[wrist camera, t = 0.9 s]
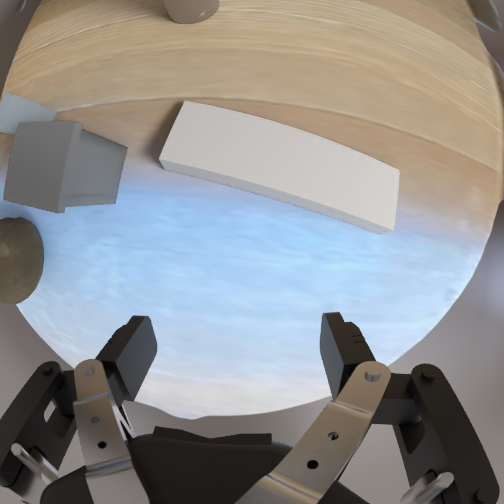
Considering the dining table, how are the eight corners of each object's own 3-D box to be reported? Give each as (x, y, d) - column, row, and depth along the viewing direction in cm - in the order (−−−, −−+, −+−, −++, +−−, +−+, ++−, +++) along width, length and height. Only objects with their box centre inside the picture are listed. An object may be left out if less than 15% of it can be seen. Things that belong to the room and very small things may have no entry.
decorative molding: (188, 117, 39) (165, 171, 38) (184, 100, 34) (158, 159, 33) (384, 179, 41) (377, 235, 40) (399, 170, 36) (393, 230, 35)
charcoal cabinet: (130, 144, 36) (76, 121, 21) (116, 210, 38) (56, 217, 23) (54, 138, 35) (-3, 124, 20) (43, 195, 37) (-17, 198, 22)
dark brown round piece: (9, 249, 39) (-40, 265, 24) (34, 198, 37) (-22, 202, 22) (44, 300, 41) (-4, 329, 26) (73, 252, 39) (16, 274, 24)
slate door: (57, 111, 34) (13, 94, 21) (43, 140, 35) (-3, 130, 22) (48, 108, 34) (5, 91, 21) (35, 136, 35) (-10, 126, 22)
